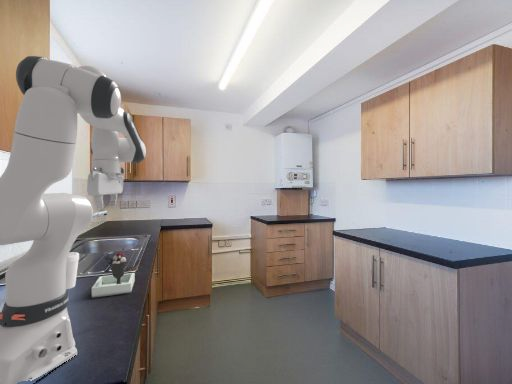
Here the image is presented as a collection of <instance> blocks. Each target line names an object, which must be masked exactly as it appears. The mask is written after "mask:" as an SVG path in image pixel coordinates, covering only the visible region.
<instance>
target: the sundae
mask: <svg viewBox="0 0 512 384" xmlns="http://www.w3.org/2000/svg"><path fill="white" fill-rule="evenodd" d="M123 250H125V248H122V249H121V250H120V252H117V254H114V255H113V257H112V258H111V257H109V258H108V259H109V262H108V263H107V264H108V265H110V269H111V274H112V275H113V276H114V277H115V278H116V279H117V284H121V282H120V278H121V277H122V276H123V275H124V274H125V270H126V263H127V262H128V259H126V257H125V254H123V253H121V252H123Z"/></svg>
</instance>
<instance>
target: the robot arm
mask: <svg viewBox="0 0 512 384" xmlns="http://www.w3.org/2000/svg"><path fill="white" fill-rule="evenodd" d="M15 80H16V83H17V86H18V88H19V90H20V93H21V94H22V95H23V97H22V99H21V102H20V105H19V108H18V112H17V114H16V119H15V124H14V129H13V131H14V132H13V137H12V138H13V139H12V144H11V148H10V153H9V154H10V155H9V158H8V159H9V160H8V163H7V166H6V167H5V169H4V172H3V173H2V175H1V176H0V246H6V245H12V244H13V245H14V244H19V243H25V242H30V241H32V244H31V246H30V248H29V249H28V250H27V251H26V252H25V254H23V255H22V256H20V257H19V258H17V259H15V260H14V261H12V263H11V264H10V265H9V266H8V268H7V269H6V272H5V275H4V276H5V277H4V278H5V279H4V280H5V281H4V282H5V300H6V301H5V303H3V307H2V310H1V311H0V384H17V383H18V382H21V381H28V380H30V381H32V380H34V379H36V378H38V377H40V376H42V375H43V374H45V373H47V372H48V371H50V370H52V369H53V368H55V367H57V366H59V365H61V364H62V363H64V362H66V361H67V362H69V361H70V360H72V359H73V358H75V357H76V356H77V355H78V349H77V347H76V340H75V338H74V336H73V329H72V324H71V320H70V316H69V312H68V307H69V301H70V300H69V299H70V296H69V292H68V289H67V290H66V263H67V258H68V254H69V252H71V249H72V247H73V245H74V243H75V241H76V240H77V238H78V237H79V236H80V235H81V233H82V232H83V231H85V229H87V228H88V227H89V225H91V222H92V220H93V217H94V209H93V206H92V204H91V201H90V200H89V199H88V198H87V197H86V196H83V195H80V194H79V195H78V194H74V193H65V192H60V193H58V192H57V193H46V191H47V190H48V189H49V188H50V187H51V186H52V185H54V184H56V183H58V182H60V181H62V180H64V179H65V178H67V177H68V176H69V175H70V173H71V172H72V169H73V160H74V156H75V155H74V154H75V150H76V144H77V136H78V114H79V115H80V117H81V118H82V120H83V121H84V122H85V123H87V124H88V125H90V126H92V130H91V139H90V154H91V155H92V157H91V170H90V172H89V174H88V176H87V181H86V182H87V186H86V192H87V194H88V196H94V200H95V202H96V208H97V209H104V208H105V202H104V200H103V199H104V196H105V195H109V197H110V200H109V207H116V206H117V199H118V194H119V195H121V194H122V193H123V191H124V175H125V168H123V167H122V165H121V163H132V164H139V163H141V162H143V160H145V159H146V156H147V155H146V154H147V148H146V145H145V143H144V141H143V140H142V138H141V136H140V134H139V130H138V129H137V126H136V124H135V122H134V120H133V118H132V116H131V113H129V112H127V111H126V110H124V109H123V108H122V107H121V105H122V104H121V103H122V93H121V89H120V87H119V86H118V84H117V83H116V82H115V81H114V80H112V79H111V78H109V77H107V76H106V74H105V73H104V72H103V71H102V70H101V69H99V68H97V67H94V66H90V65H83V66H79V67H78V66H76V65H73V64H71V63H67V62H62V61H59V60H58V61H57V60H53V59H48V58H47V57H45V56H38V55H29V56H26V57H24V58H23V59H21V60H20V61H19V63H18V64H17V67H16V70H15ZM119 134H122V135H124V136H125V137H119V136H120V135H119ZM75 355H76V356H75ZM74 356H75V357H74ZM72 357H73V358H72ZM71 358H72V359H71ZM69 359H70V360H69ZM68 360H69V361H68ZM67 362H66V363H67ZM30 378H32V379H30Z"/></svg>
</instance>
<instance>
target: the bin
mask: <svg viewBox="0 0 512 384" xmlns="http://www.w3.org/2000/svg"><path fill="white" fill-rule="evenodd" d="M135 276H136V274H135V272H131V273H128V272H127V273H124V275H123V276H122V277H121V278H120V282H121V284H117V279H116V278H115V277H114V276H113V274H112V275H111V274H110V275H102V276H99V277H98V279H96V282H95V283H94V284H93V286H92V287H91V298H92V299H93V298H99V297H101V298H102V297H106V296H115V295H123V294H131V293H132V290H133V287H134V284H135V282H136V278H135Z"/></svg>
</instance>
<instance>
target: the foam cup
mask: <svg viewBox="0 0 512 384" xmlns="http://www.w3.org/2000/svg"><path fill="white" fill-rule="evenodd" d="M79 261H80V253H79V252H76V251H75V252H74V251H72V252H71V251H70V252H69V254H68V258H67V263H66V290H67V291H68V290H71V289H73V288H75V286H76V282H77V276H78V275H77V274H78V269H79V267H78V265H79Z"/></svg>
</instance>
